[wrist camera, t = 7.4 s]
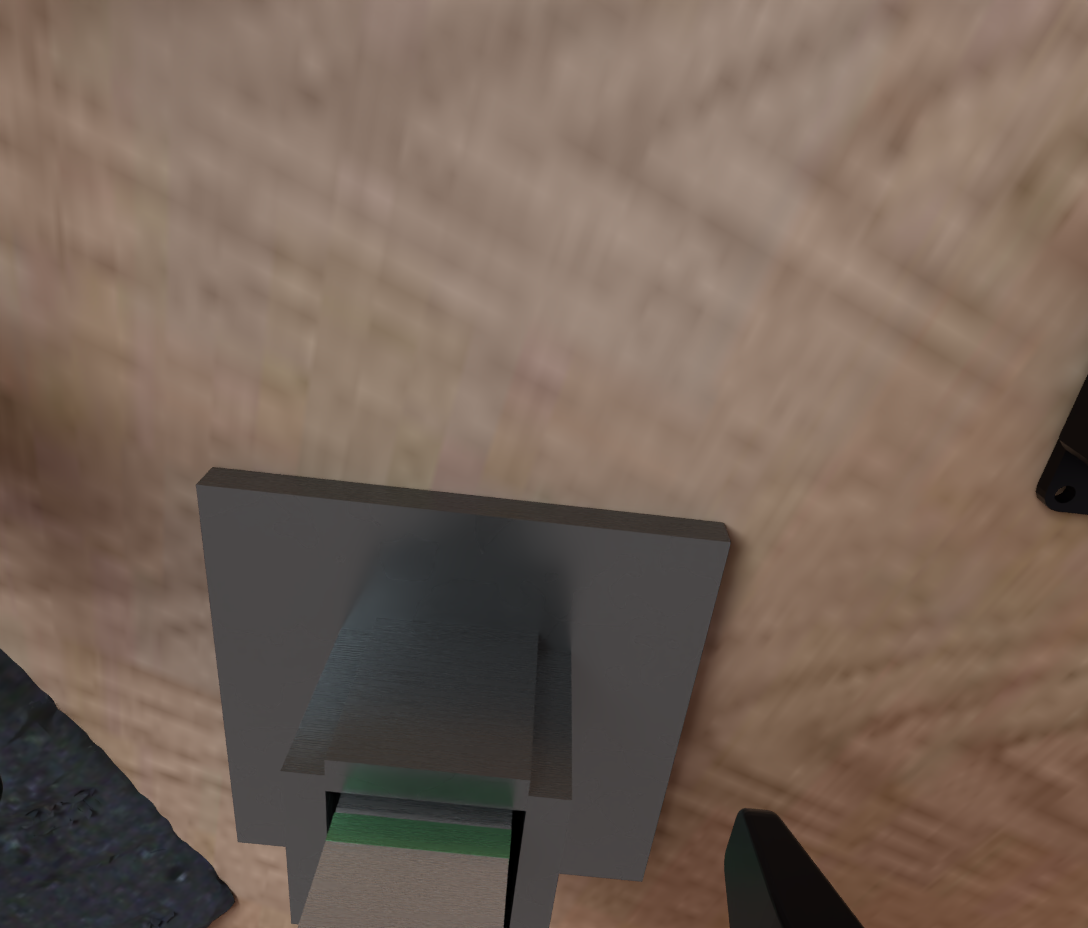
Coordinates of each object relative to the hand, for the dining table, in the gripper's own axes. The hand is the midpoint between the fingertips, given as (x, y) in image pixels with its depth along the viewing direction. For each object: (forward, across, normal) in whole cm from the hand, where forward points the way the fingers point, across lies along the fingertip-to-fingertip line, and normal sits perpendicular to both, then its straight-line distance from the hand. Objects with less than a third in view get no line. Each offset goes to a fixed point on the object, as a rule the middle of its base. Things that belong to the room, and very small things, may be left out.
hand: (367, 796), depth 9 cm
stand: (+12, 0, +9) cm, 15 cm away
